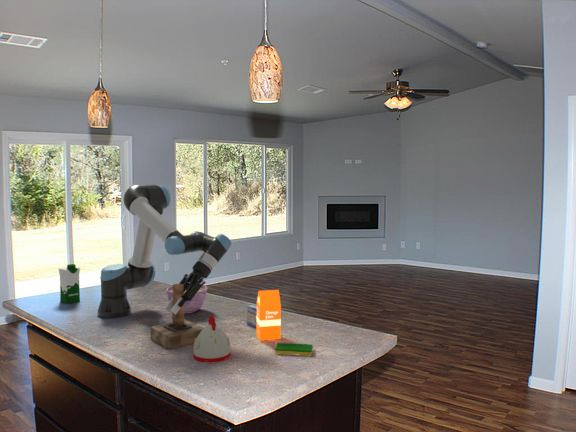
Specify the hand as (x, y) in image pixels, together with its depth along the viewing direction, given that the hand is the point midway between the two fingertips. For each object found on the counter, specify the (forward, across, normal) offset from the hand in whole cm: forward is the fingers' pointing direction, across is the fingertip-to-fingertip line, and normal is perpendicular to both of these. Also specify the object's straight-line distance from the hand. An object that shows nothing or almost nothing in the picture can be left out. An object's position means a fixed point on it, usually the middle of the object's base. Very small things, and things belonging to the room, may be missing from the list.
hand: (169, 311), depth 190 cm
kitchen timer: (+6, -24, -12) cm, 27 cm away
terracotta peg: (+1, 0, -7) cm, 7 cm away
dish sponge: (-12, -40, -31) cm, 53 cm away
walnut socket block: (+6, 0, -12) cm, 13 cm away
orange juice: (-15, -22, -33) cm, 42 cm away
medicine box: (-19, -6, -37) cm, 42 cm away
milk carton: (+16, +90, -1) cm, 92 cm away
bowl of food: (-11, +34, -28) cm, 46 cm away
